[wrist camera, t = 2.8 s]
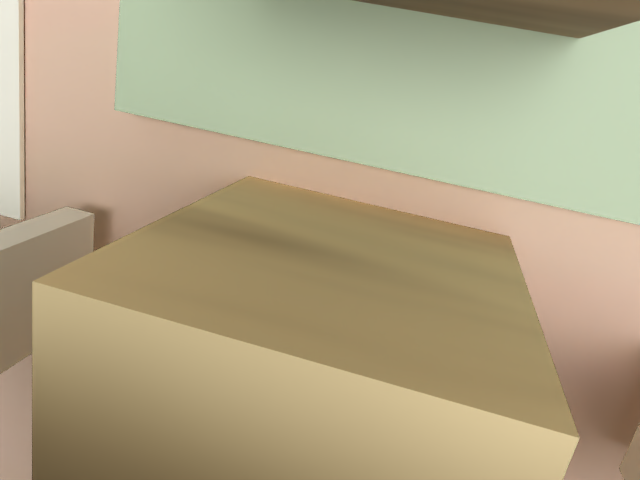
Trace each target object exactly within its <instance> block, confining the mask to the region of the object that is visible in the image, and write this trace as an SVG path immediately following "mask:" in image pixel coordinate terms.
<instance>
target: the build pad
mask: <svg viewBox="0 0 640 480" xmlns="http://www.w3.org/2000/svg"><path fill="white" fill-rule="evenodd" d="M114 110H117V111H122V112H126V113H131V114H135V115H140V116H144V117H149V118H154V119H158V120H163V121H167V122H172V123H176V124H181V125H185V126H190V127H195V128H199V129H204V130H208V131H213V132H217V133H222V134H226V135H231V136H236V137H240V138H245V139H249V140H254V141H258V142H263V143H267V144H272V145H277V146H281V147H286V148H290V149H295V150H299V151H304V152H309V153H313V154H318V155H322V156H327V157H331V158H336V159H340V160H345V161H350V162H354V163H359V164H363V165H368V166H372V167H377V168H381V169H386V170H391V171H395V172H400V173H404V174H409V175H413V176H418V177H422V178H427V179H432V180H436V181H441V182H445V183H450V184H454V185H459V186H464V187H468V188H473V189H477V190H482V191H486V192H491V193H495V194H500V195H505V196H509V197H514V198H518V199H523V200H527V201H532V202H536V203H541V204H546V205H550V206H555V207H559V208H564V209H568V210H573V211H577V212H582V213H587V214H591V215H596V216H600V217H605V218H609V219H614V220H619V221H623V222H628V223H632V224H637V225H640V21H637V22H633V23H630V24H627V25H623V26H620V27H617V28H613V29H610V30H606V31H603V32H600V33H596V34H593V35H590V36H586V37H583V38H580V39H579V38H573V37H567V36H561V35H555V34H549V33H543V32H537V31H531V30H525V29H519V28H513V27H507V26H501V25H495V24H489V23H483V22H478V21H472V20H466V19H460V18H454V17H448V16H442V15H436V14H430V13H424V12H418V11H412V10H406V9H400V8H394V7H388V6H382V5H376V4H370V3H365V2H359V1H353V0H120V7H119V28H118V48H117V68H116V89H115V109H114Z"/></svg>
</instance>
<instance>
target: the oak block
mask: <svg viewBox="0 0 640 480" xmlns="http://www.w3.org/2000/svg"><path fill="white" fill-rule="evenodd" d="M579 439H580V438H579V435H578V432H577V429H576V426H575V423H574V421H573V418H572V415H571V412H570V409H569V406H568V403H567V400H566V397H565V395H564V392H563V389H562V386H561V383H560V380H559V377H558V374H557V372H556V369H555V366H554V363H553V360H552V357H551V354H550V351H549V349H548V346H547V343H546V340H545V337H544V334H543V331H542V328H541V326H540V323H539V320H538V317H537V314H536V311H535V308H534V305H533V303H532V300H531V297H530V294H529V291H528V288H527V285H526V282H525V280H524V277H523V274H522V271H521V268H520V265H519V262H518V259H517V257H516V254H515V251H514V248H513V245H512V242H511V239H510V237H509V236H505V235H500V234H496V233H492V232H487V231H483V230H479V229H474V228H470V227H466V226H461V225H457V224H453V223H449V222H444V221H440V220H436V219H431V218H427V217H423V216H418V215H414V214H410V213H405V212H401V211H397V210H392V209H388V208H384V207H380V206H375V205H371V204H367V203H362V202H358V201H354V200H349V199H345V198H341V197H336V196H332V195H328V194H323V193H319V192H315V191H310V190H306V189H302V188H298V187H293V186H289V185H285V184H280V183H276V182H272V181H267V180H263V179H259V178H254V177H250V176H248V177H246V178H244V179H242V180H240V181H238V182H236V183H234V184H231V185H229V186H227V187H225V188H223V189H221V190H219V191H217V192H215V193H213V194H211V195H209V196H207V197H205V198H203V199H201V200H199V201H196V202H194V203H192V204H190V205H188V206H186V207H184V208H182V209H180V210H178V211H176V212H174V213H172V214H170V215H168V216H166V217H164V218H161V219H159V220H157V221H155V222H153V223H151V224H149V225H147V226H145V227H143V228H141V229H139V230H137V231H135V232H133V233H131V234H128V235H126V236H124V237H122V238H120V239H118V240H116V241H114V242H112V243H110V244H108V245H106V246H104V247H102V248H100V249H98V250H96V251H93V252H91V253H89V254H87V255H85V256H83V257H81V258H79V259H77V260H75V261H73V262H71V263H69V264H67V265H65V266H63V267H61V268H58V269H56V270H54V271H52V272H50V273H48V274H46V275H44V276H42V277H40V278H38V279H36V280H34V281H32V480H563V478H564V475H565V473H566V470H567V468H568V466H569V463H570V461H571V458H572V456H573V453H574V451H575V448H576V446H577V443H578V441H579Z"/></svg>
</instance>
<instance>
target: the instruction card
mask: <svg viewBox="0 0 640 480" xmlns="http://www.w3.org/2000/svg"><path fill="white" fill-rule="evenodd" d="M0 215H3V216H6V217H10V218H14V219H18V220H22V219H25V180H24V0H0Z"/></svg>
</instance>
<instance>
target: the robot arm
mask: <svg viewBox="0 0 640 480" xmlns="http://www.w3.org/2000/svg"><path fill="white" fill-rule="evenodd" d="M94 215H95V214H94V213H90V212H86V211H82V210H78V209H74V208H70V207H64V208H61V209H58V210H55V211H53V212H50V213H47V214H44V215H41V216H38V217H35V218H32V219H29V220H26V221H24V222H21V223H18V224H15V225H12V226H9V227H6V228H3V229H0V374H1V373H3V372H4V371H6V370H7V369H9V368H10V367H12V366H13V365H15V364H16V363H18V362H19V361H21V360H22V359H24V358H25V357H27V356H28V355H30V354H31V353H32V281H34V280H36V279H38V278H40V277H42V276H44V275H46V274H48V273H50V272H52V271H54V270H56V269H58V268H61V267H63V266H65V265H67V264H69V263H71V262H73V261H75V260H77V259H79V258H81V257H83V256H85V255H87V254H89V253H91V252H93V243H94ZM619 469H620V472H621V474H622V477H623V479H624V480H640V423H639V425H638V427H637V430H636V432H635V434H634V436H633V439H632V441H631V443H630V445H629V447H628V450H627V452H626V454H625V456H624V459H623V461H622V463H621V465H620V467H619Z"/></svg>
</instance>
